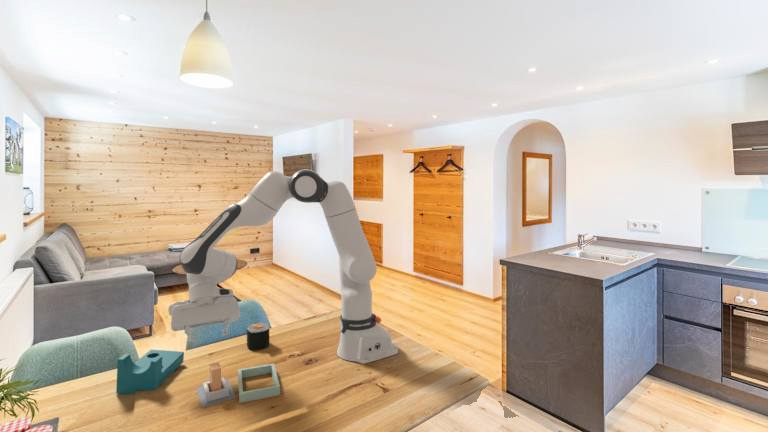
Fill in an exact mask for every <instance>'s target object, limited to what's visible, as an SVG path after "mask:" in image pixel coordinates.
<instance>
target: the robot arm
mask: <svg viewBox="0 0 768 432" xmlns="http://www.w3.org/2000/svg"><path fill="white" fill-rule="evenodd" d="M292 198H293V199H296V200H297V201H298V202H301V203H307V204H308V203H309V204H310V203H319V204H320V206H321V208H322V210H323V213H324V214H323V215H324V217H325V221H326V223H327V226H328V228H329V232H330V236H331V238H332V241H333V244H334V246H335V249H336V251H337V254H338V256H339V258H338V265H339V281H340V292H341V294H340V295H341V297H340V298H341V306H340V307H341V314H340V317H339V330H340V337H339V343H338V348H337V351H336V354H337V356H338V357H339V358H340V359H342V360H346V361H350V362H356V363H360V364H368V363H371V362H375V361H379V360H381V359H385V358H388V357H392V356H396V355H398V353H399V348H398V345H397V344H396V343H395V342H394V341H393V340H392V336H391V335H390V333H389V331H388V330H387V329H386V328H384V327H383V326H381V325H380V323H381V322H382V319H381V317H379V316H377V315H376V314H374V313H373V312H372V311H373V306H372V305H373V304H372V303H373V301H372V300H373V294H372V293H373V292H372V288H371V282H370V281H372V280H373V279H374V277H375V276H376V274H377V269H378V268H377V263H376V260H375V257H374V255H373V252H372V249H371V247H370V245H369V242H368V239H367V237H366V235H365V232H364V230H363V228H362V223H361V221H360V217H359V214H358V211H357V208H356V206H355V202H354V199H353V198H352V195H351V192H350V190H349V189H348V187H347V185H346V184H345V183H344V182H342V181H339V180H333V181H328V182H326V181H325V180H324V179H323V178H322V177H321V176H320V175H319V174H318V173H317V172H316V171H314V170H312V169H306V168H305V169H301V170H298V171H296V172H295V173H294V174H292V175H289V176H287V175H285V174H283V173H282V172H280V171H275V170H274V171H272V170H270V171H269V172H267V173H266V174H265V175H264V176H263V177H262V178H261V179H260V180H259V181H258V182H257V183H256V184H255V185H254V187H253V188H252V189H251V190H250V192H248V194H247V195H246V196H245V197H244V198H243V199H242V200H240V201H238V202H237V203H234V204H231V205H229V206H227V207H226V208H225V209H224V210H223V211H222V212H220V214H219V215H218V216H217V217H216V218H215V219H214V220H213V221H212V222H211V223H210V224H209V225H208V226H207V227H206V228H205V229H204V230H203V231H202V232H201V233H200V234H199V235H198V236H197V237H196V238H195V239H194V240H192V241H191V242H190V243H188V244H187V245H186V246H185V247H184V248H183V249H182V251H181V252H180V254H179V263H180V266H181V268H182V269H183V271H184V272H185V273H186V281H187V285H188V300H187V299H186V300H182V301H175V302H173V303H172V304H170V305H169V307H168V314H169V316H170V317H171V319H170V328H171V330H172V331H173V332H179V331H184V334H185V335H186V336H187V337H188V339H189V340H188V341H189V343H190V342H195V341H196V334H195V333H192V332H191V331H190V330H191V329H196V328H200V327H201V328H202V327H208V326H214V325H219V324H224V326H225V327H223V328H222V330H221V333H222V336H227V335H229V326H230V324H231V323H232V322H237V321H239V319H240V318H241V309H240V305H239V302H238V299H237V298H236V297H235V296H234V291H233V289H231V288H223V287H218V286H217V285H218V283H219V284H220V283H223V282H225V281H227V280H228V279H230V278H231V277H233V276H234V275H235V273H236V272H237V269H238V259H237V257H236V255H235V254H234V253H232V252H231V251H230V252H229V251H226V250H225V249H222V248H220V249H219V248H218V247H215V246H216V245H217V244H218V243H219V242H220V241H221V240H222V239H223V237H225V235H227V233H229V232H230V231H231V230H233V229H235V228H240V227H262V226H265V225H267V224H268V223H270V222H271V221H272V220H273V219H274V218H275V217H276V215H277V213H279V211H280V209H281V208H282V206H283V205H284V204H285V203H286V202H287V201H288V200H289V199H292Z"/></svg>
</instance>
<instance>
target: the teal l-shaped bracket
mask: <svg viewBox="0 0 768 432" xmlns="http://www.w3.org/2000/svg"><path fill="white" fill-rule="evenodd" d="M184 356H185V351H177V350H161V349H150V350H149V351H147V352H146V353H144V355H143V356H141V357H140V358H139V359H137V360H136V361H135V362H134V361H133V360H132V358H131V353H124V354H123V355H121V356H120V357H118V359H117V364H116V365H117V366H116V368H117V369H116V389H115V390H116V392H115V393H116V394H118V395H119V394H120V395H121V394H122V395H123V394H124V395H135V394H136V391H146V392H147V391H149V392H151V391H156V390H157V389H158V388H159V386H161V385H162V384H163V383H164V381H166V380H167V379H168V378H169V377H170V376H171V374H173V373H174V372H175V371H176V370H177V369H178V368H179V367H180V366H181V365H182V364H183V363H184V358H185V357H184Z"/></svg>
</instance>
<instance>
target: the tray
mask: <svg viewBox="0 0 768 432" xmlns="http://www.w3.org/2000/svg"><path fill="white" fill-rule="evenodd" d="M268 374H271V378H272V382H273V386H272V385H271V386H267V387H261V388H257V389H256V388H255V389H250V390H247V391H244V389H243V379H244V378H250V377H257V376H262V375H268ZM237 379H238V384H237V385H238V399H239V400H238V402H239V404H241V403H246V402H251V401H257V400H262V399H267V398H272V397H277V396H281V386H280V382H279V377H278V373H277V370H276V365H275V363H269V364H262V365H257V366H250V367H244V368H238V369H237Z"/></svg>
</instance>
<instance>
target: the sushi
mask: <svg viewBox="0 0 768 432" xmlns="http://www.w3.org/2000/svg"><path fill="white" fill-rule="evenodd" d="M246 346H247V349H248V350H249V351H260V350H263V349H267V348H269V347H270V325H268V323H264V322H257V323H252V324H250V325H248V327H247V328H246Z"/></svg>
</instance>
